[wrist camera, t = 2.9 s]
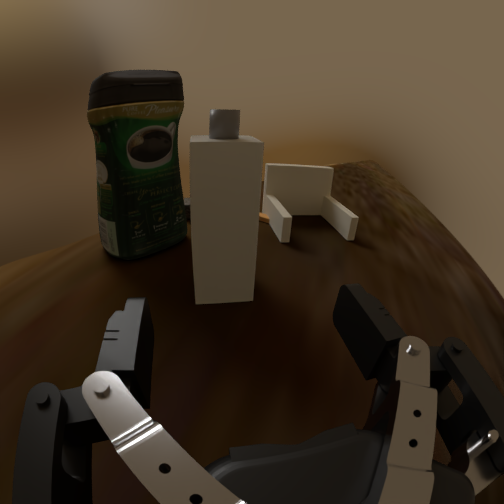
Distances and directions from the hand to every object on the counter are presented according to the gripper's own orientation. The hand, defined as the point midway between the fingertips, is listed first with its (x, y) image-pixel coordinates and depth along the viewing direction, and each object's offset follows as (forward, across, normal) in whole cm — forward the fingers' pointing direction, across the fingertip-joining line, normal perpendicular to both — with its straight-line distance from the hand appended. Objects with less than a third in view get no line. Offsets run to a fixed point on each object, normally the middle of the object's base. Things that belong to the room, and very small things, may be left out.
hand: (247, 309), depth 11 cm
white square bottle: (+11, 0, +7) cm, 13 cm away
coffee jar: (+20, +8, +7) cm, 23 cm away
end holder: (+23, -12, +6) cm, 27 cm away
